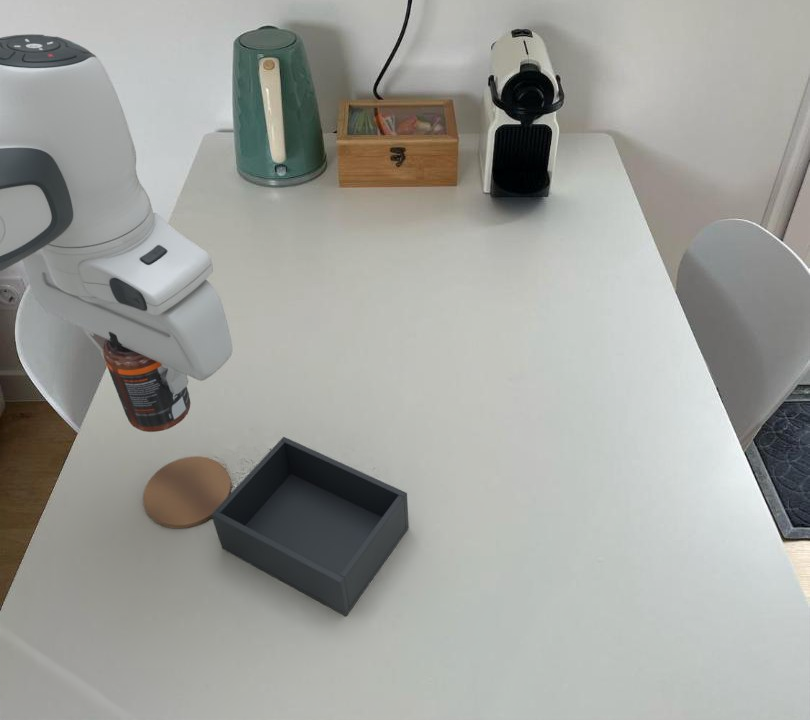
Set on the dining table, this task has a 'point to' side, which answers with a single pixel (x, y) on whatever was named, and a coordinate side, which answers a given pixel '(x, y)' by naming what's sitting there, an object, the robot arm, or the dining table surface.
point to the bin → (313, 523)
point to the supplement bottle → (143, 389)
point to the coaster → (186, 492)
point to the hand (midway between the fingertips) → (146, 373)
